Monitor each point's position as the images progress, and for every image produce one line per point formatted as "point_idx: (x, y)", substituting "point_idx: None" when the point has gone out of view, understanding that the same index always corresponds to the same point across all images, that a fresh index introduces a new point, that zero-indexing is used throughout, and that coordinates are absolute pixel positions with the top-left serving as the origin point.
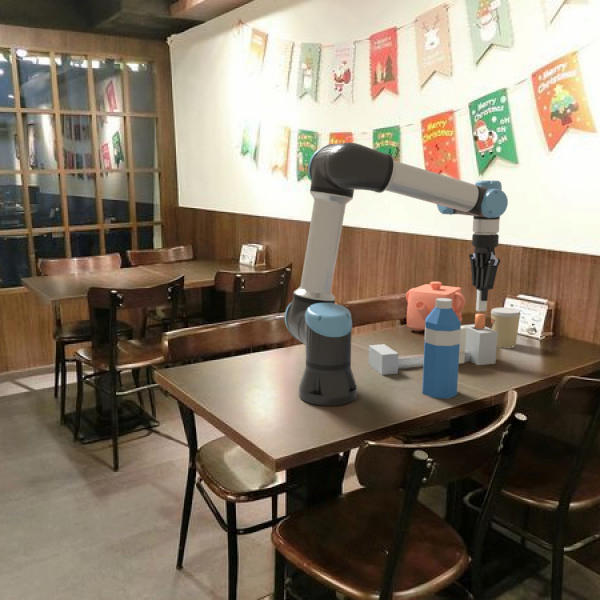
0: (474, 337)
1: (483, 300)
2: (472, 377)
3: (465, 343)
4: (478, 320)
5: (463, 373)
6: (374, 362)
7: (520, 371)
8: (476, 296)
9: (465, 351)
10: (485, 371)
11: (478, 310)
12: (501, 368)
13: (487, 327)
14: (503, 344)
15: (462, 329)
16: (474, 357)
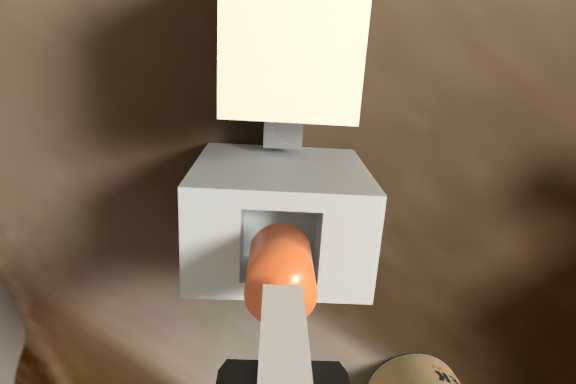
0: (240, 177)
1: (224, 367)
2: (62, 15)
3: (325, 165)
4: (261, 252)
5: (123, 8)
6: None
7: (94, 252)
8: (346, 379)
9: (283, 133)
10: (126, 122)
11: (265, 288)
12: (146, 208)
13: None
14: (379, 377)
15: (218, 87)
16: (238, 150)
